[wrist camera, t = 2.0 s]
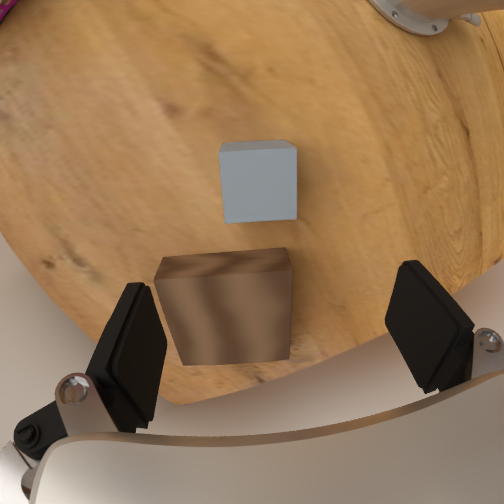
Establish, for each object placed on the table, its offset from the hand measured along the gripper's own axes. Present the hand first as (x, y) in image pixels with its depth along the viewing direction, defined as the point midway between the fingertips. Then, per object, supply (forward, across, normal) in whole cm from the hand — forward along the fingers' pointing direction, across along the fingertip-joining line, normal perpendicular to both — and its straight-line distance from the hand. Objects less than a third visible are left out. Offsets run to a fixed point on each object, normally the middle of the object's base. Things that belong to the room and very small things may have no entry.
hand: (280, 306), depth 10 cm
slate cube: (+20, 0, -1) cm, 20 cm away
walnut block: (+20, +4, +15) cm, 26 cm away
